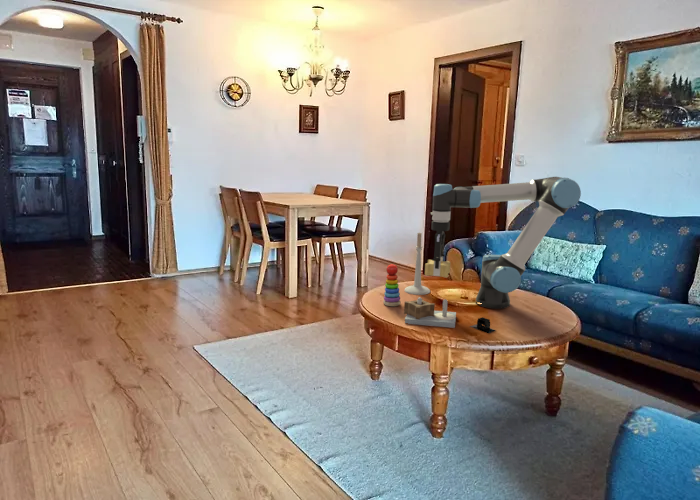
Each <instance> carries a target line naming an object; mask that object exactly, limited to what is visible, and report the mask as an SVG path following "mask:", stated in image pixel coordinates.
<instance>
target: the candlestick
mask: <svg viewBox="0 0 700 500" xmlns="http://www.w3.org/2000/svg"><path fill="white" fill-rule="evenodd" d="M416 235H417V236H416V237H417V241H416V246H414V247H415V248H416V256H415V258H416V260H415V269H414V270H415V271H414V282H413V285H409V286H406V287H405V288H404V292H405V293H406V294H410V295H416V296H417V295H419V296H422V295H423V296H424V295H428V294H430V293H431V289H430V288H428V287H427V286H424V285H422V255H421V254H422V253H421V251H422V248H423V245H422V232H417V234H416Z"/></svg>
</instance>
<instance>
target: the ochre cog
mask: <svg viewBox="0 0 700 500" xmlns="http://www.w3.org/2000/svg"><path fill="white" fill-rule="evenodd" d="M450 271H451V261H449V260H446V261H444V260H443V261H441V266H440V276H439V277H443V278H448V277H449V274H450V273H451V272H450ZM433 272H434V261H432V259H427V263H425V264H424V276H427V277H428V276H432V277H434V276H433Z"/></svg>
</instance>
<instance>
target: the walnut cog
mask: <svg viewBox="0 0 700 500" xmlns="http://www.w3.org/2000/svg"><path fill="white" fill-rule="evenodd" d="M403 305H404V307H403V308H404V309H403V314H404V315H407V314H409V315H411V316H413V317H415V318H416V319H420V318H423V317H427V316H434V310H435V305H436V304H435V303H433V302H432V303H431V302H428V301H425V300H424V299H423V298H422V304H420V305H418V304H417V299H416V300H415V299H414V300H411V301H410V300H409V301H407V300H405V301H404V304H403Z"/></svg>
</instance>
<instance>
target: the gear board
mask: <svg viewBox="0 0 700 500" xmlns="http://www.w3.org/2000/svg"><path fill="white" fill-rule="evenodd" d="M422 299H423V298H422V297H420V296H419V297H417V299H416V300H417V304H418V305H420V304H422ZM405 315H406V316H405V317H404V324H405V323H408V325H419V326H430V327H441V328H453V329H455V327H456V319H457V312H456V311H448V300H447V299H443V300H442V310H435V309H434V316H427V317H423V318H420V319H416V318H415V317H413V316H411V315H409V314H405Z"/></svg>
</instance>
